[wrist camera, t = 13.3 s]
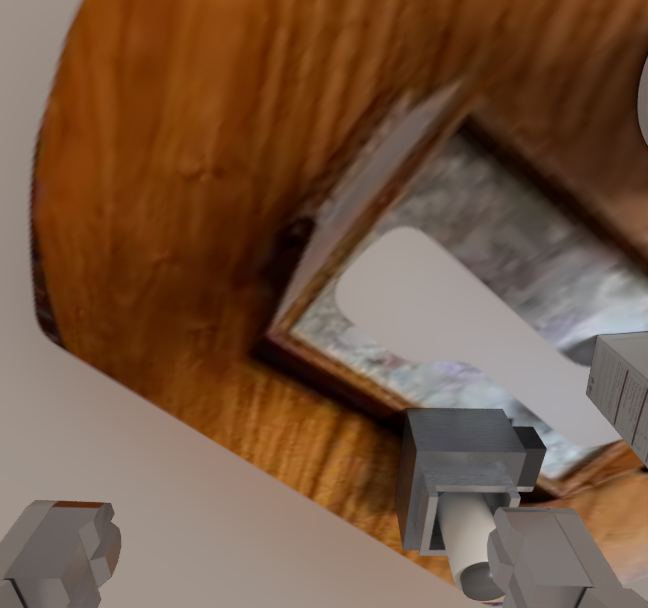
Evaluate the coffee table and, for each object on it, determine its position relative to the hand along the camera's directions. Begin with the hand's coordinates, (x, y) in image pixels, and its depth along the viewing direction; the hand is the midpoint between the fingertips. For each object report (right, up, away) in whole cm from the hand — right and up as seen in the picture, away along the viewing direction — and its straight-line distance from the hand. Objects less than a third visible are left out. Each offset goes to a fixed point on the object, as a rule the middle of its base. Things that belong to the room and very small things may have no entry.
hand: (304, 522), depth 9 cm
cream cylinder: (+14, -15, +33) cm, 39 cm away
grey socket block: (+15, -13, +38) cm, 43 cm away
